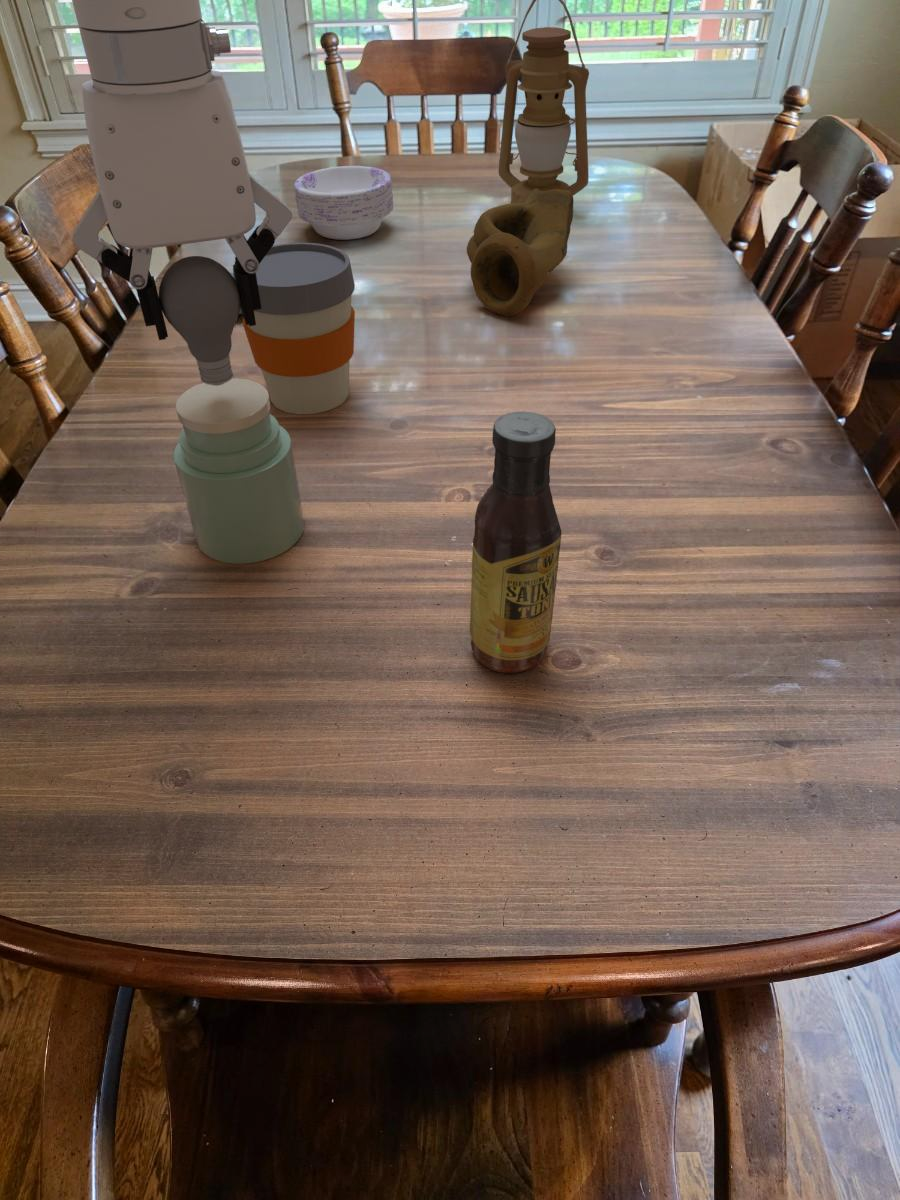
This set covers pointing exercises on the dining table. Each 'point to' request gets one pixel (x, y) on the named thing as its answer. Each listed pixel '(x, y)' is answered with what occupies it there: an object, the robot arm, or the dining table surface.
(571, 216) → the brown looped sculpture
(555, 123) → the lantern
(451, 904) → the dining table surface
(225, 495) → the green lidded jar
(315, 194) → the paper bowls
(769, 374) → the dining table surface
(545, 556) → the sauce bottle
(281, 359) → the reusable coffee cup
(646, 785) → the dining table surface
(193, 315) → the light bulb
